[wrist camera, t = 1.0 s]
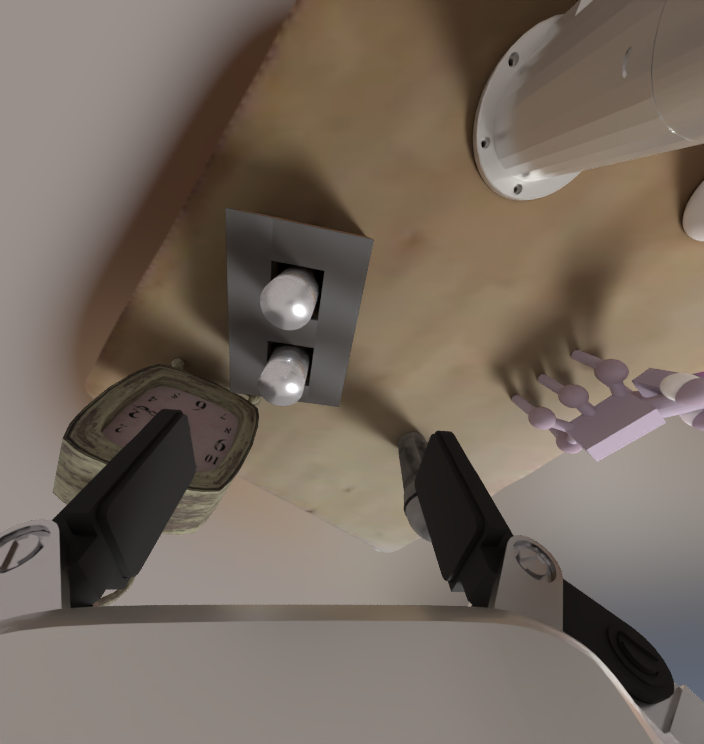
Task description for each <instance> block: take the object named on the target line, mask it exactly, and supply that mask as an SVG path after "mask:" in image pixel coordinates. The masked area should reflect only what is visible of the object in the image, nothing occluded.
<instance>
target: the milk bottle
mask: <svg viewBox="0 0 704 744" xmlns="http://www.w3.org/2000/svg"><path fill="white" fill-rule="evenodd" d="M683 228H684V231H685V232H686V234H687V235H688V236H690V237H691V238H693V239H694V240H698V241H704V181H703V182H702V183H701V184H700V185H699V186H698V188H697V189H696V190H695V191H694V193H693V194H692V196H691V197H690V199H689V201H688V203H687V205H686V208H685V211H684V214H683Z"/></svg>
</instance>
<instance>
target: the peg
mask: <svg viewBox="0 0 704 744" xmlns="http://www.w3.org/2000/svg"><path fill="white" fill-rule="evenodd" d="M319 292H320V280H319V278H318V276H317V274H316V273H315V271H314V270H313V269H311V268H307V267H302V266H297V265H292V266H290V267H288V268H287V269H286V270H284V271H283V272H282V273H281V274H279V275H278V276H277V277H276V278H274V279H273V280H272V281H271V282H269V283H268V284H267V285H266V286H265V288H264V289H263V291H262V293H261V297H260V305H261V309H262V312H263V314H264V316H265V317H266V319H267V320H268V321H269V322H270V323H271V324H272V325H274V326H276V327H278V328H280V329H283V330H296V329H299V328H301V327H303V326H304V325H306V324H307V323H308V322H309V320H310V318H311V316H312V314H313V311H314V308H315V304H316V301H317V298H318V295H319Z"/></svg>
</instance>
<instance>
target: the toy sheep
mask: <svg viewBox="0 0 704 744" xmlns="http://www.w3.org/2000/svg"><path fill="white" fill-rule="evenodd" d="M592 355H593V354H591V355H590V354H587V353H585V352H582V351H580V350H575V351H574V352H573V353H572V355H571V357H572V359H574V360H577V361H579V362H581V363H584V364H586V365H588V366H590V367H593V368H595V370H594V373H595V376H596V378H597V379H598V380H600V381H601V382H602V383H603V384H605V385H606V386H607V387H609V388H610V390H611V393H612V395H611V396H610V397H608V398H607V399H605V400H604V401H602V402H601V403H599V404H597V405H596V406H593V405H592V404H590V403H589V402H588V399H589V395H588V392H587V391H586V389H584V388H583V387H581V386H579V385H574V384H571V385H566V386H564V385H562V384H560V383H559V382H557V381H555V380H554V379H552V378H550V377H548V376H547V375H545V374H543V375H540V376H539V377H538V382H539V383H541V384H542V385H544V386H546V387H547V388H549V389H550V390H552V391H553V392H555V393H557V394H558V397H559V400H560V402H561V403H562V404H563V405H565V406H567V407H570V408H577V409H578V410H579V411H580V412H581V413H582V415H580V416H579V417H577V418H576V419H574V420H573V421H571V422H567V421H563V420H560V419H557V418H556V417H555V414H554V413H553V412H552V411H551V410H550V409H548V408H545V407H537V408H535V407H534V406H532V405H531V404H530V403H529V402H527V401H526V400H525V399H523V398H522V397H521V396H520V395H514V396H513V397H512V402H513V403H515V404H516V405H517V406H518V407H519V408H521V409H522V410H523V411H524V412H525V413H527V414H528V415H529V416H528V419H529V422H530V423H531V425H532V426H534V427H535V428H537V429H541V430H546V429H549V430H550V431H551V433H552V434H553V435H554V436H555V437H556V444H557V446H558V447H559V449H561V450H562V451H564V452H566V453H570V454H572V453H573V454H574V453H577V452H579V451H581V449H582V448H583V449H584V450H585V451H586V452H587V453H589V455H591V456H592V457H593V458H594V459H595V460H596V461H597V462H598V461H599V460H601V459H603V458H605V457H606V456H608V455H610V454H612V453H613V452H615V451H617V450H619V449H620V448H622V447H624V446H626V445H627V444H629V443H631V442H632V441H634V440H636V439H638V438H640V437H642V436H643V435H645V434H647V433H649V432H650V431H652V430H654V429H656V428H657V427H659V426H661V425H663V424H664V423H666V422H665V420H664V419H663V418H665V417H669V416H674V415H678V414H679V416H680V418H681V419H682V420H683V421H684V422H685V423H687V424H689V425H691V426H693V427H694V428H696V429H699V430H701V431H704V372H700V373H696V374H689V373H677V372H671V371H665V370H659V369H653V368H649V369H648V370H646V371H645V372H643V373H642V374H641V375H639V376H638V377H637V378H635V379H634V380H632V382H633V383H634V385H635V386H636V388H637V389H638V391H632V390H630V389H629V388H628V387H626V386H625V385H624V383H623V380H625V379H626V378H627V376H628V373H629V370H628V367H627V366H626V365H625V364H624V363H623V362H621V361H619V360H614V359H609V360H608V359H607V360H602V359H600V358H597V357H595V356H592Z"/></svg>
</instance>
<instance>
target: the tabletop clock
mask: <svg viewBox="0 0 704 744" xmlns="http://www.w3.org/2000/svg"><path fill="white" fill-rule="evenodd" d="M184 367H185V363H184V361H183V360H181V359H174V360H172V361H171V367H170V366H166V365H161V364H158V365H154V366H150V367H146V368H144V369H141V370H139V371H137V372H135V373H133V374H131V375H129V376H128V377H126V378H124V379H122V380H121V381H119V382H117V383H116V384H114V385H112V386H111V387H109V388H107V389H106V390H105V391H104V392H103V393H101V394H100V395H99V396H98V397H97V398H95V399H94V400H93V401H92V402H91V403H90V404H88V405H87V406H86V407H85V408H84V409H83V410H82V411H81V412H80V413H79V414H78V415H77V416H76V417H75V418H74V419H73V420H72V422H71V423H70V424H69V426H68V428H67V431H66V433H65V435H64V437H63V440H62V445H61V451H60V456H59V461H58V466H57V472H56V477H55V483H54V488H53V493H54V494H55V495H56V496H57V497H58V498H59V499H60V500H61V501H63V502H64V503H66V504H68V503H69V502H70V501H71V500H72V499H73V498H74V497H75V496H76V495H77V494H78V493H79V492H80V491H81V490H82V489H83V488H84V487H85V486H86V485H87V484H88V483H89V482H90V481H91V480H92V479H93V478H94V477H95V476H96V475H97V474H98V473H99V472H100V471H101V470H102V469H103V468H104V467H105V466H106V465H107V464H108V463H109V461H110V460H111V459H112V458H113V457H114V456H115V455H116V454H117V453H118V452H119V451H120V450H121V449H122V448H124V447H125V446H126V445H127V444H128V443H129V442H130V441H131V440H132V439H133V438H134V437H135V436H136V435H137V434H138V433H139V432H140V431H141V430H142V429H143V428H144V427H145V425H146V424H147V423H148V422H149V421H150V420H151V419H152V418H153V417H154V416H155V415H156V414H157V413H158V412H159V411H160V410H162V409H174V410H181V411H182V412H183V414H185V415H187V417H188V422H189V428H190V434H191V440H192V445H193V451H194V457H195V463H196V472H195V475H194V478H193V479H192V481H191V483H190V485H189V486H188V488H187V490H186V492H185V493H184V495H183V497H182V499H181V500H180V502H179V504H178V506H177V507H176V509H175V511H174V513H173V514H172V516H171V518H170V520H169V521H168V523H167V525H166V526H165V528H164V530H163V532H162V533H164V534H176V535H179V534H188V533H194V532H196V531H197V530H198V529H199V528H200V527H201V526H202V525H203V524H204V523H205V522H206V521H207V519H208V518H209V516H210V515H211V514H212V512H213V511H214V510H215V508H216V506H217V505H218V503H219V502H220V500H221V499H222V497H223V495H224V494H225V492H226V490H227V489H228V487H229V486H230V484H231V483H232V481H233V479H234V478H235V476H236V475H237V473H238V471H239V470H240V468H241V466H242V464H243V463H244V461H245V459H246V457H247V455H248V453H249V451H250V449H251V447H252V445H253V441H254V438H255V434H256V431H257V428H258V422H259V414H258V408H257V407H255V406H254V405H257V404H259V402H260V397H259V396H254V395H251V396H250V397H249V399H248V400H246V399H245V398H243V397H241V396H239V395H237V394H235V393H232V392H230V391H229V390H227V389H225V388H224V387H222V386H220V385H218V384H216V383H213V382H211V381H209V380H206V379H204V378H201V377H199V376H196V375H194V374H191V373H189V372H186V371H184V370H182V369H184ZM134 578H135V577H131V578H130V580H129V581H128V583H127V585H126V586H125V588H124V589H118V590H117V591H115V592H114V593H111V594H109V595H107V596H105V597H102V598H100V599H99V600H98V601H97V602H98V607H100V606H106V605H108V604H110V603H112V602H114V601H116V600H117V599H118V598H119V597H120V596H122V595H123V594H124V593H125V592H126V591H127V590H128V589H129V587H130V586H131V585H132V583H133V581H134Z"/></svg>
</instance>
